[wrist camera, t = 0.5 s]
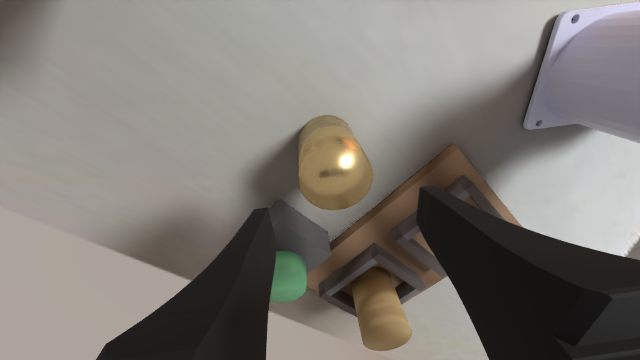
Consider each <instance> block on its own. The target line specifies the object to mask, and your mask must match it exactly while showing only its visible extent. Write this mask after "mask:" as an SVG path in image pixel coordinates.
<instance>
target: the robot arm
mask: <svg viewBox="0 0 640 360" xmlns="http://www.w3.org/2000/svg"><path fill="white" fill-rule="evenodd" d="M573 16H574V18H573V21H572V22H571V19H572V17H573ZM537 121H538V123H537ZM536 123H537V124H536ZM571 124H579V125H583V126H586V127H589V128H592V129H596V130H599V131H602V132H605V133H609V134H612V135H615V136H618V137H621V138H625V139H628V140H631V141H634V142H638V143H640V2H635V3H627V4H619V5H612V6H604V7H596V8H588V9H581V10H573V11H565V12H563V13H561V14H560V15H559V16H558V17H557V19H556V21H555V24H554V28H553V31H552V34H551V37H550V40H549V44H548V47H547V50H546V53H545V56H544V59H543V63H542V66H541V69H540V72H539V75H538V79H537V82H536V85H535V88H534V91H533V95H532V98H531V101H530V104H529V107H528V110H527V114H526V117H525V120H524V123H523V127H524V128H525V129H528V130H534V129H541V128H549V127H556V126H564V125H571ZM416 222H417V224H418V227H419V229H420V231H421V233H422V235H423V237H424V239H425V241H426V243H427V244H428V246H429V247H430V249H431V251H432V252H433V254H434V255H435V257H436V258H437V260H438V261H439V263H440V265H441V266H442V268H443V269H444V271H445V272H446V274H447V275H448V277H449V279H450V280H451V282H452V284H453V285H454V287H455V289H456V291H457V293H458V294H459V296H460V298H461V300H462V302H463V304H464V306H465V308H466V310H467V312H468V314H469V316H470V319H471V321H472V323H473V325H474V327H475V329H476V331H477V333H478V335H479V338H480V340H481V342H482V344H483V347H484V349H485V351H486V353H487V356H488V358H489V360H640V260H636V259H632V258H627V257H622V256H618V255H613V254H609V253H605V252H601V251H597V250H593V249H589V248H586V247H582V246H578V245H575V244H571V243H568V242H564V241H561V240H558V239H555V238H552V237H548V236H545V235H542V234H539V233H536V232H534V231H531V230H528V229H525V228H523V227H520V226H518V225H515V224H512V223H510V222H507V221H505V220H503V219H500V218H498V217H496V216H494V215H491V214H489V213H487V212H485V211H483V210H481V209H479V208H477V207H475V206H473V205H471V204H469V203H467V202H465V201H463V200H461V199H459V198H457V197H455V196H453V195H451V194H449V193H448V192H446V191H444V190H442V189H440V188H438V187H435V186H433V185H430V186H423V187H420V189H419V198H418V207H417V216H416ZM275 262H276V237H275V233H274V230H273V226H272V222H271V219H270V215H269V211H268V208H262V209H255V210H254V211H253V212H252V213H251V215H250V216H249V217H248V219H247V220H246V221H245V223H244V224H243V226H242V227H241V228H240V230H239V231H238V232H237V233H236V235H235V236H234V237H233V239H232V240H231V241H230V242H229V243H228V245H227V246H226V247H225V248H224V249H223V250H222V252H221V253H220V254H219V255H218V256H217V257H216V258H215V259H214V260H213V261H212V263H211V264H210V265H209V266H208V267H207V268H205V269H204V270H203V271H202V272H201V273H200V274H199V275H198V276H197V277H196V278H195V279H194V280H193V281H191V282H190V283H189V284H188V285H187V286H186V287H185V288H183V289H182V290H181V291H180V292H179V293H177V294H176V295H175V296H174V297H173V298H171V299H170V300H169V301H167V302H166V303H165V304H164V305H162V306H161V307H160V308H158V309H157V310H155V311H154V312H153V313H152V314H150V315H149V316H147V317H146V318H145V319H143V320H142V321H140V322H139V323H137V324H136V325H134V326H133V327H131V328H130V329H128V330H127V331H125V332H124V333H122V334H121V335H119V336H118V337H116V338H115V339H113V340H111V341H110V342H108V343H107V344H106V345H105V346H104V348H103V349H102V351H101V353H100V354H99V356H98V357H97V359H96V360H266V342H267V323H268V310H269V302H270V296H271V289H272V282H273V276H274V269H275Z"/></svg>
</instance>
